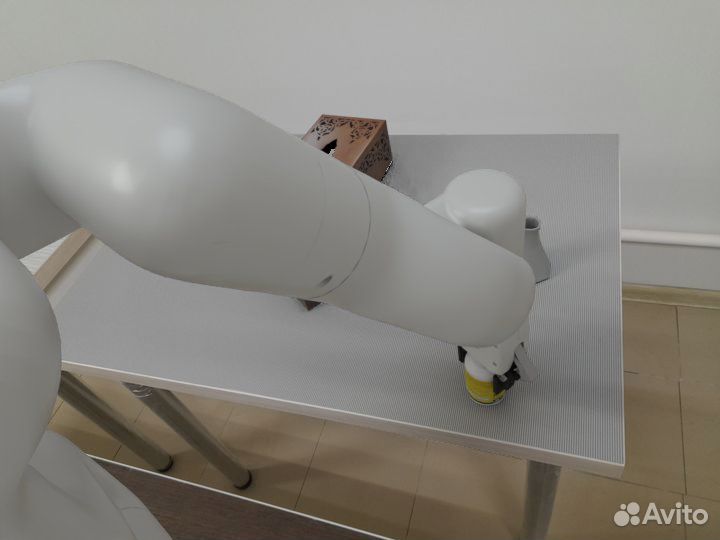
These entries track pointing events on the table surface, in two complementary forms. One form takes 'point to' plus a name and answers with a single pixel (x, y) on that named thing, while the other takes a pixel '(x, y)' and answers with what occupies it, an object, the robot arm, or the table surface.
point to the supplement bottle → (480, 383)
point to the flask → (535, 249)
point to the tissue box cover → (353, 142)
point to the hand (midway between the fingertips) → (486, 370)
